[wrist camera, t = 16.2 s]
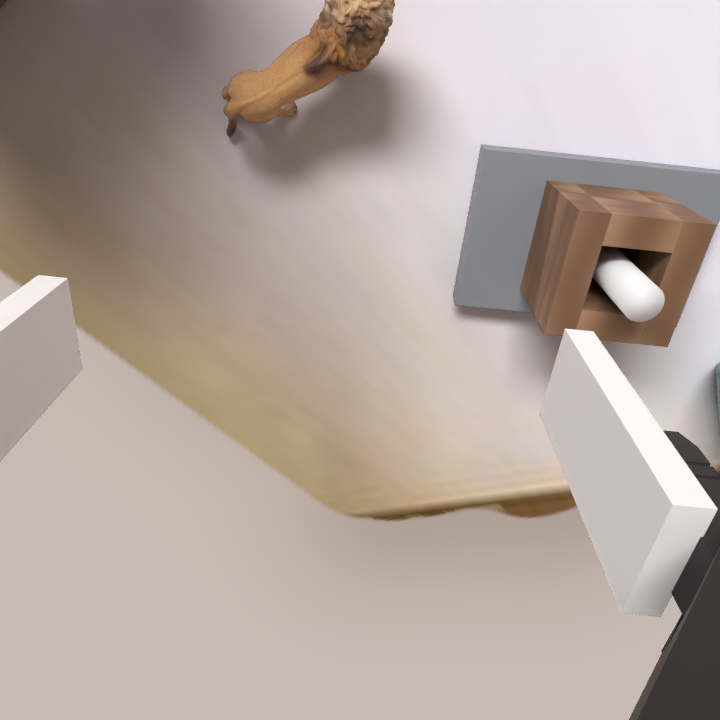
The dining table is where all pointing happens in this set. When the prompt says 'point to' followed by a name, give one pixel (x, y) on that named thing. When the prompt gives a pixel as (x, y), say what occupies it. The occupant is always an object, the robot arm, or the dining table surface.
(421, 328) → the dining table surface
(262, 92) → the lion figurine
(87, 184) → the dining table surface
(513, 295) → the spindle stand
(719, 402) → the flower pot
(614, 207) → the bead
